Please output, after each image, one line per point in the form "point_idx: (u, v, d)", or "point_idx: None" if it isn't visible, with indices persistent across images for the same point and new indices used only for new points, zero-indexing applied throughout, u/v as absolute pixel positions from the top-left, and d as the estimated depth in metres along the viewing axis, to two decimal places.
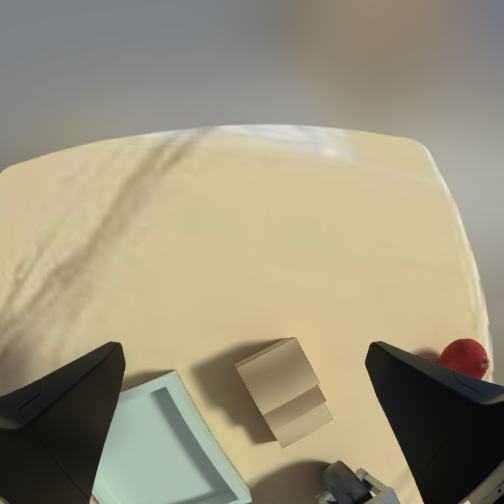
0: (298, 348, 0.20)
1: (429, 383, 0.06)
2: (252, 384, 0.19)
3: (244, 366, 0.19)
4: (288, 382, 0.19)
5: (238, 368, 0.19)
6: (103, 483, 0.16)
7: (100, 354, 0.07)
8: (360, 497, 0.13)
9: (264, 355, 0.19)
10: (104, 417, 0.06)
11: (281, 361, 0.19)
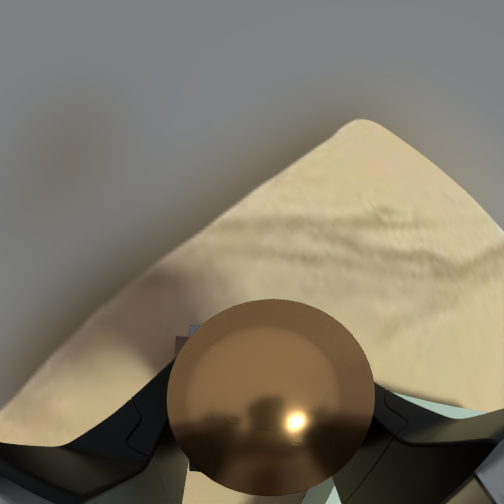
0: None
1: None
2: None
3: None
4: None
5: None
6: None
7: None
8: None
9: None
10: None
11: None
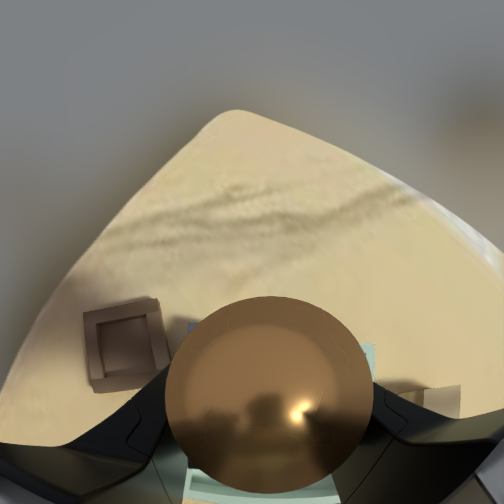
0: (459, 393, 0.17)
1: None
2: (427, 407, 0.16)
3: (428, 390, 0.17)
4: None
5: (425, 390, 0.17)
6: None
7: None
8: None
9: (441, 388, 0.17)
10: None
11: (448, 398, 0.17)
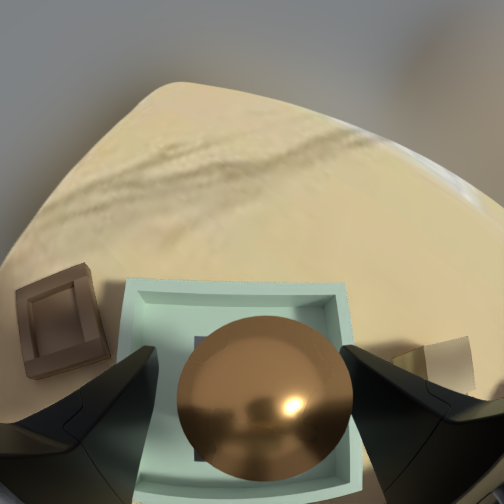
0: (468, 347, 0.14)
1: (396, 393, 0.06)
2: (431, 368, 0.14)
3: (430, 347, 0.14)
4: (457, 378, 0.13)
5: (424, 347, 0.14)
6: None
7: (138, 359, 0.07)
8: None
9: (445, 342, 0.15)
10: (143, 424, 0.06)
11: (456, 354, 0.14)
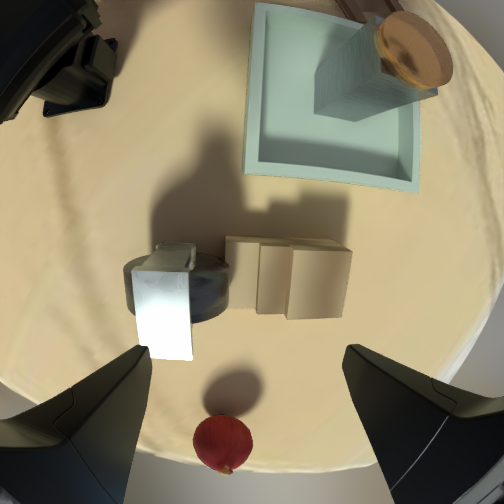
0: (331, 315, 0.19)
1: (403, 391, 0.06)
2: (330, 257, 0.18)
3: (349, 259, 0.18)
4: (309, 292, 0.19)
5: (350, 253, 0.18)
6: (321, 31, 0.16)
7: (130, 358, 0.07)
8: (192, 310, 0.15)
9: (346, 282, 0.19)
10: (135, 423, 0.06)
11: (331, 295, 0.19)
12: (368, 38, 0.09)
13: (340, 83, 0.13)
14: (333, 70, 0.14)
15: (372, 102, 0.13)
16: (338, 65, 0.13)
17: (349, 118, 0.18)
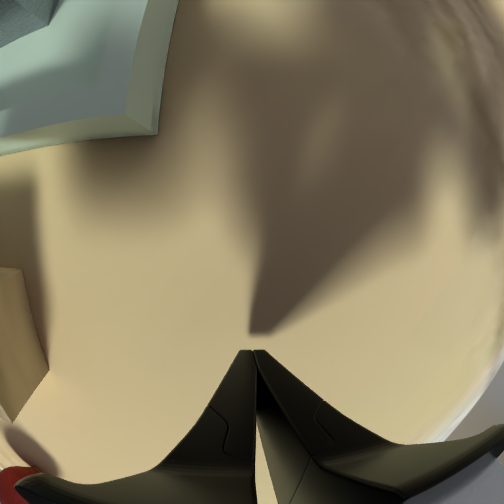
0: None
1: (279, 411, 0.05)
2: None
3: None
4: None
5: None
6: None
7: (246, 365, 0.07)
8: None
9: None
10: None
11: None
12: None
13: None
14: None
15: None
16: None
17: (24, 26, 0.04)
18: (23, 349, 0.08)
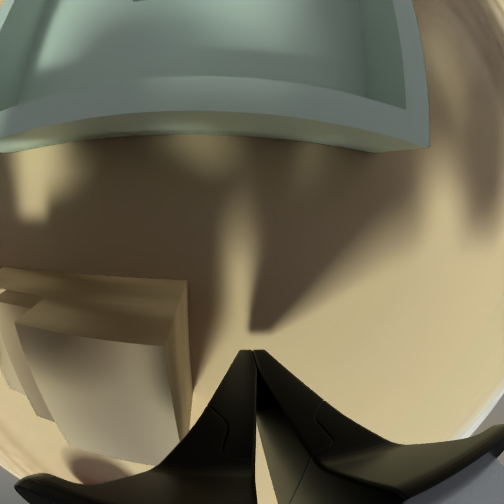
0: (157, 463, 0.06)
1: (279, 411, 0.05)
2: (98, 356, 0.05)
3: (160, 368, 0.05)
4: (82, 417, 0.06)
5: (161, 350, 0.05)
6: None
7: (246, 365, 0.07)
8: None
9: (171, 417, 0.06)
10: None
11: (139, 433, 0.06)
12: None
13: None
14: None
15: None
16: None
17: None
18: (187, 376, 0.09)
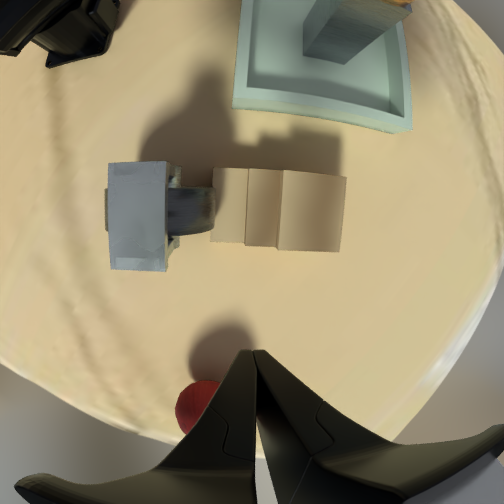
0: (327, 248, 0.18)
1: (279, 411, 0.05)
2: (323, 181, 0.17)
3: (343, 185, 0.17)
4: (302, 218, 0.17)
5: (345, 178, 0.17)
6: None
7: (246, 364, 0.07)
8: (170, 219, 0.14)
9: (342, 211, 0.17)
10: None
11: (327, 224, 0.17)
12: None
13: (323, 16, 0.12)
14: (317, 10, 0.13)
15: (355, 31, 0.12)
16: (321, 4, 0.12)
17: (337, 59, 0.17)
18: None
